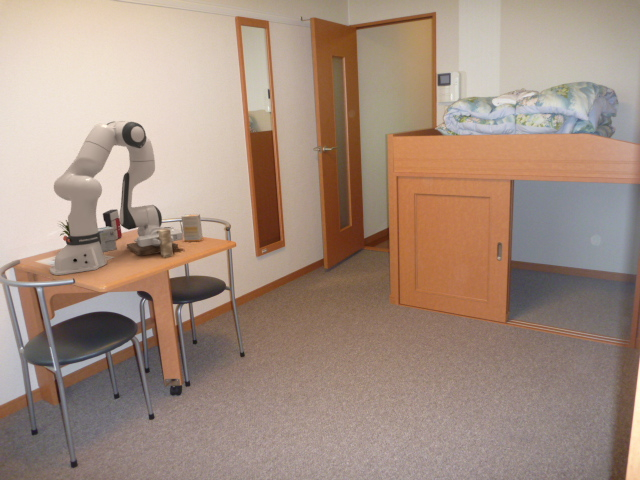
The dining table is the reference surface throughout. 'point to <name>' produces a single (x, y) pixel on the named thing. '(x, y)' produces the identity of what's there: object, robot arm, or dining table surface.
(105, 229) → the light bulb box
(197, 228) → the supplement box
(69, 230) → the house plant
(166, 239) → the beech block
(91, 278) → the dining table surface
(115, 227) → the packaged product box
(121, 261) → the dining table surface
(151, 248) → the walnut board
